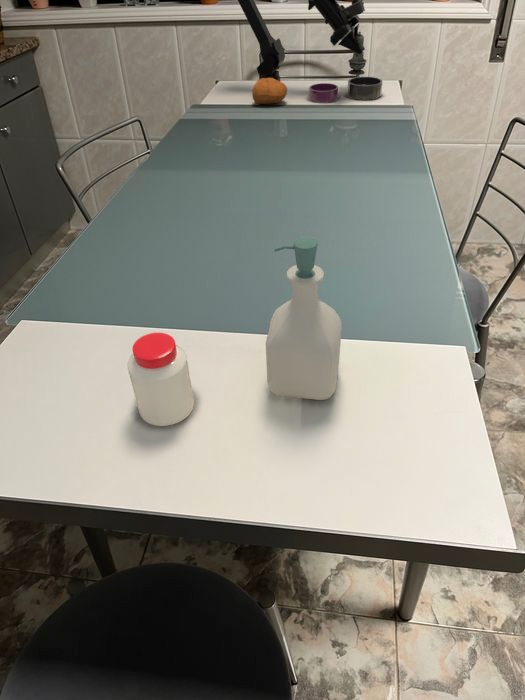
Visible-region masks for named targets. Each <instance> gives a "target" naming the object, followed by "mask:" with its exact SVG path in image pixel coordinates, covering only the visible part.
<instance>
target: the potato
mask: <svg viewBox="0 0 525 700" xmlns="http://www.w3.org/2000/svg"><path fill="white" fill-rule="evenodd" d="M287 94H288V87H287V85H286V84H285V83H284V82H282V81H281V80H280V81H278V80H275V79H273V78H262V79H260V80H259V79H258V80H257V81H256V82H255V83H254V85H253V87H252V91H251V96H252V100H253V102H255V103H256V104H258V105H270V104H277V103H278V104H279V103H281V102H282V101H283V100H284V99H285V98H286V96H287Z"/></svg>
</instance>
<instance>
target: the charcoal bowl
mask: <svg viewBox="0 0 525 700" xmlns="http://www.w3.org/2000/svg"><path fill="white" fill-rule="evenodd" d="M346 91H347V93H346V94H347V97H349V98H350V99H352V100H357V101H370V100H376V99H378V98H380V97H381V96H382V91H383V80H382V78H379V77H374V76H355V77H352V78H350V79H348V80H347V90H346Z"/></svg>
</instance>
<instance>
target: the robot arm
mask: <svg viewBox="0 0 525 700" xmlns="http://www.w3.org/2000/svg"><path fill="white" fill-rule="evenodd" d="M237 2H238V4H239V6H240V8H241V11H242V12H243V13H244V17H245V18H246V20H247V22H248V25H249V26H250V28H251V30H252V32H253V34H254V36H255V38H256V40H257V42H258V44H259V52H260V57H261V59H262V61H261V62H260V64H258V66H257V67H256V71H257V74H258V80H260V79H262V78H273V79H275V80H278V81H280V82H281V76H280V71H279V69H280V66H281V65H282V64H283V63H284V61H285V58H286V53H285V51H286V48H285V47H284V46H283V45H282V41H281V38H279V37H278V38H277V39H276V38H274V37H273V36H272V35H271V33H270V31H269V29H268V27H267V24H266V22H265V20H264V18H263V16H262V14H261V12H260V10H259V8H258V5H257V4H256V2H255V0H237ZM307 3H308V6H307V10H308V11H311V10H313V9H314V7H315V8H316V10H317V12H319V15H321V16H322V18H323V19H324V24H325V25H329V27H330V28H331V29H332V30H333V32H332V34H331V35H330V39H329V40H330V43H331V44H332V46H333V47H335V46H336V45H337V44H338V46H342V47H344V48H346V49H348V50H350V51H352V52H356V53H358V54H361V53H362V50H361V48H360V46H359V44H358V42H357V40H356V39H355V36H356V35H358V34H359V28H360V23H359V22H360V21H362V20H361V18H360V16H359V15H361V14H363V13H364V12H366V9H365V6H364V5H365V3H364V1H363V0H351V4H350V5H349V6H344V5H343V4H339V3H338V1H337V0H308V1H307ZM363 47H364V49H363V52H364V51H365V49H366V48H365V46H364V45H363Z"/></svg>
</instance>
